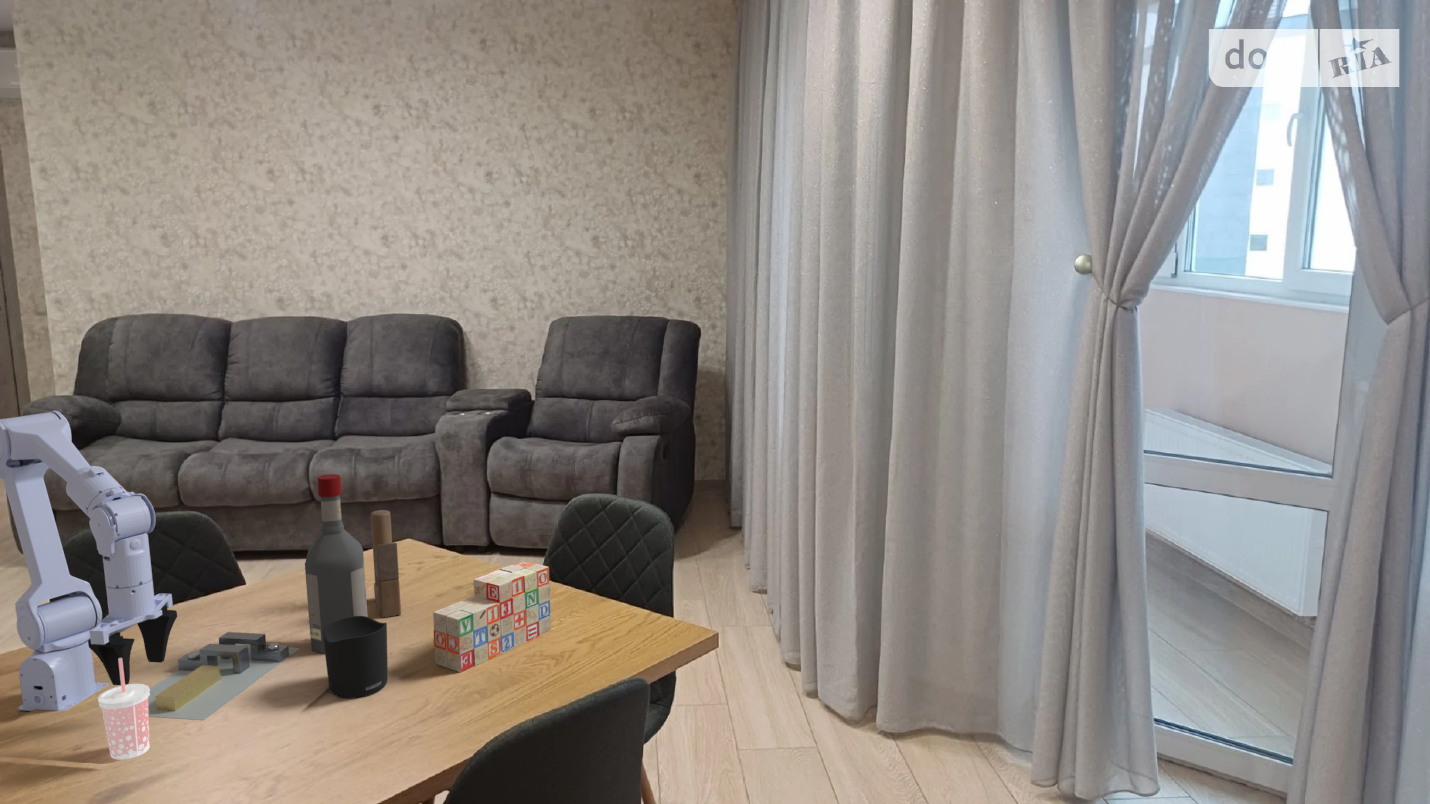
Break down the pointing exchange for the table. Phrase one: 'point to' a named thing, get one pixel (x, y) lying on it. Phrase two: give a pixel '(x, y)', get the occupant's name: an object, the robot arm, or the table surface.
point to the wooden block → (385, 565)
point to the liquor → (333, 567)
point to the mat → (212, 688)
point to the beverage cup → (126, 718)
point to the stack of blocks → (494, 616)
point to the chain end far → (256, 646)
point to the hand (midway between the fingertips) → (139, 672)
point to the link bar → (188, 688)
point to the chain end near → (210, 657)
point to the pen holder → (356, 656)
